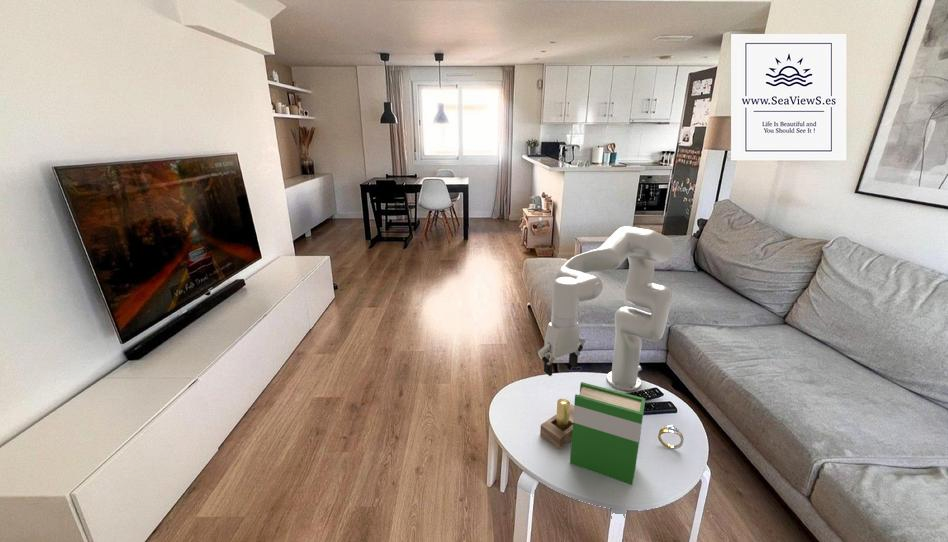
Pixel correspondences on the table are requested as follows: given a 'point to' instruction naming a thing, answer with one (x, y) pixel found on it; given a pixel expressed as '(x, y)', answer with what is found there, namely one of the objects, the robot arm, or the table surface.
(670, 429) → the ring
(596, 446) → the hardback book
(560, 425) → the peg
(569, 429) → the eye block
